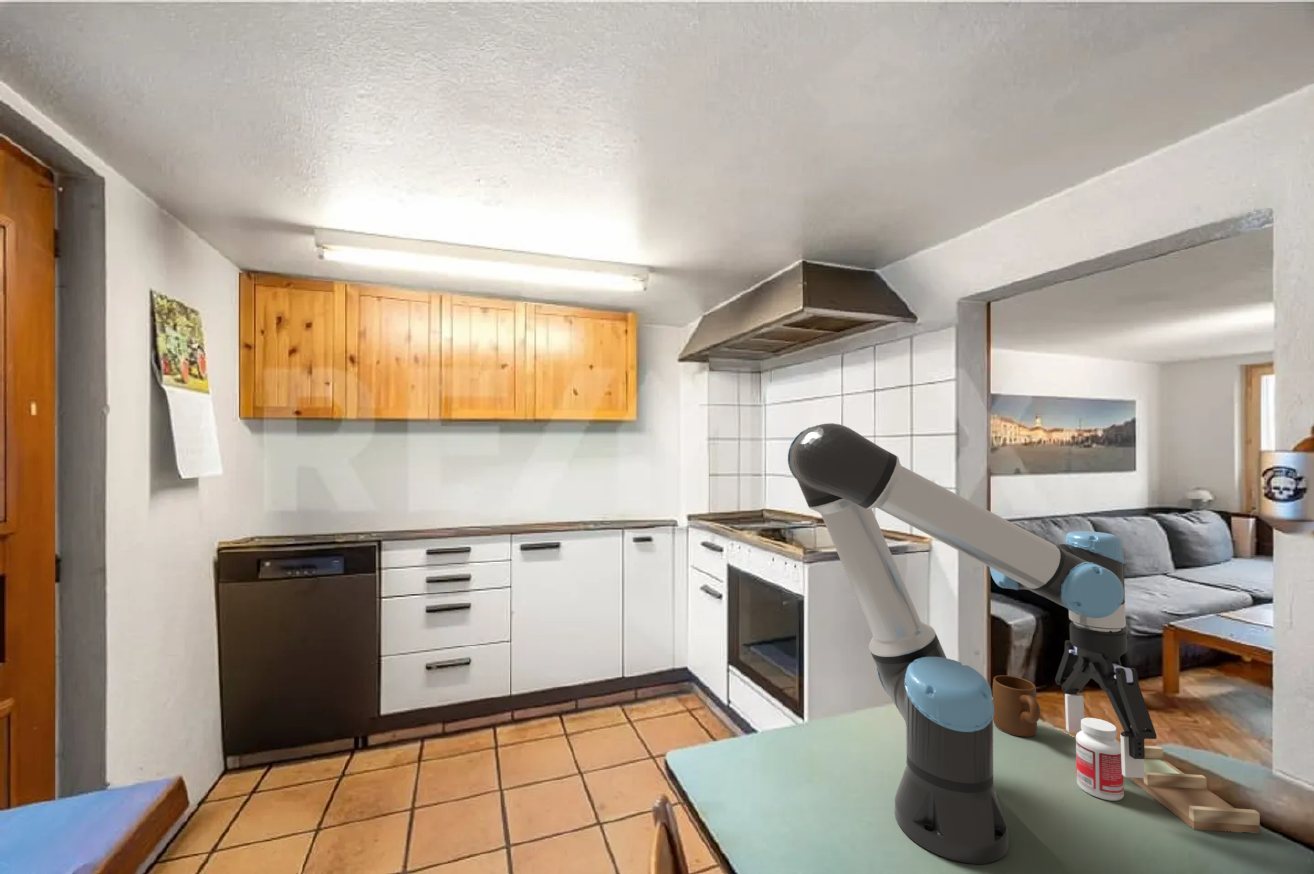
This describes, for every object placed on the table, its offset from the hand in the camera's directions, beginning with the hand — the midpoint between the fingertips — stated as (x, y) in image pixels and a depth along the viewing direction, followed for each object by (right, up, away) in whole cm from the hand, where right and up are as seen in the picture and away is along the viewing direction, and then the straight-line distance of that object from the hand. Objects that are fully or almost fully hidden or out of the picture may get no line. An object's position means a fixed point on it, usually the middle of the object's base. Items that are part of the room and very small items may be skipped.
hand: (1102, 752), depth 92 cm
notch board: (+12, -6, -1) cm, 13 cm away
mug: (-2, -7, +18) cm, 19 cm away
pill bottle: (0, -7, 0) cm, 7 cm away
